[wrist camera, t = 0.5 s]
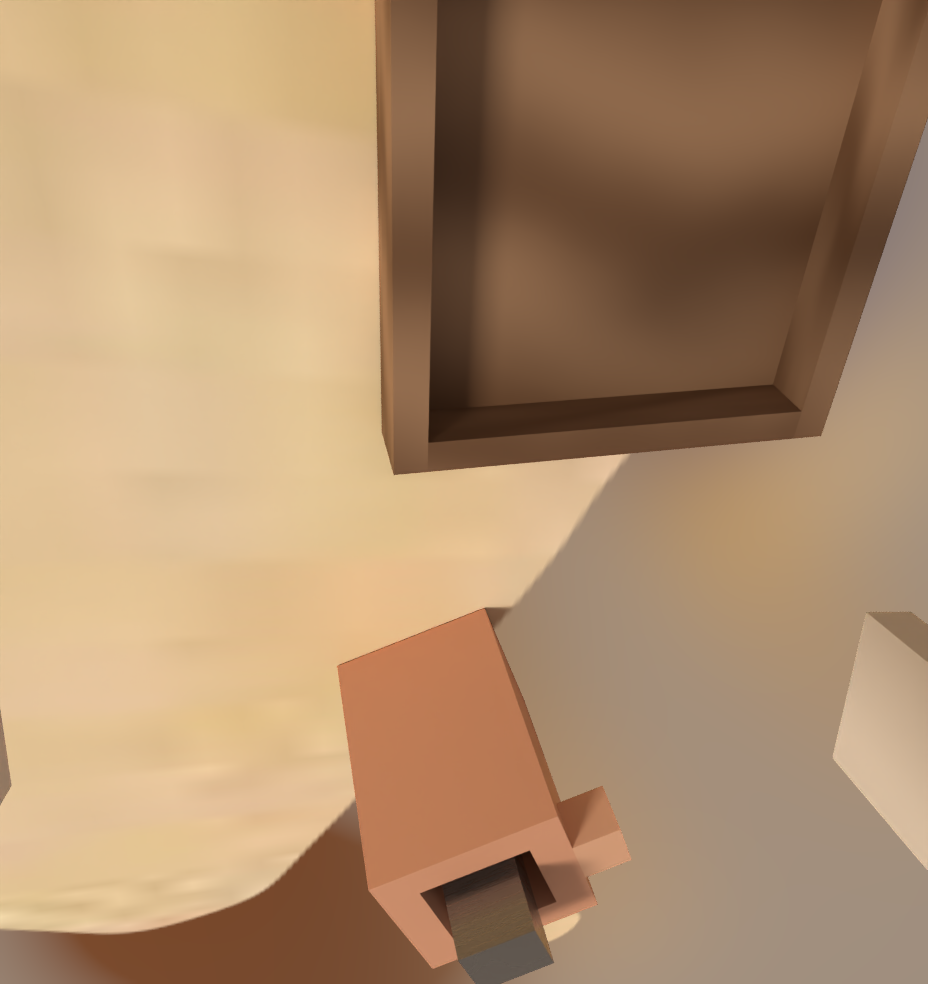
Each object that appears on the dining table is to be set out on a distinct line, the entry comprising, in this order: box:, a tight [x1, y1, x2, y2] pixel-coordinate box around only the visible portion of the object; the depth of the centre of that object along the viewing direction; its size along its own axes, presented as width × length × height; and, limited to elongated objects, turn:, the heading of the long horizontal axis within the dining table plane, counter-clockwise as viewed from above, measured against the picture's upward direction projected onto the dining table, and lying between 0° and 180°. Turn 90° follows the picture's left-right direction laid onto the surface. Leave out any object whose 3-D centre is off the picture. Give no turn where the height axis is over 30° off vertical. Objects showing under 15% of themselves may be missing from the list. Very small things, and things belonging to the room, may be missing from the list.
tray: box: [375, 0, 928, 475], centre depth 23 cm, size 14×14×2 cm
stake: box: [442, 854, 554, 984], centre depth 30 cm, size 2×2×11 cm
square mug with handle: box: [337, 608, 631, 969], centre depth 30 cm, size 6×8×9 cm
